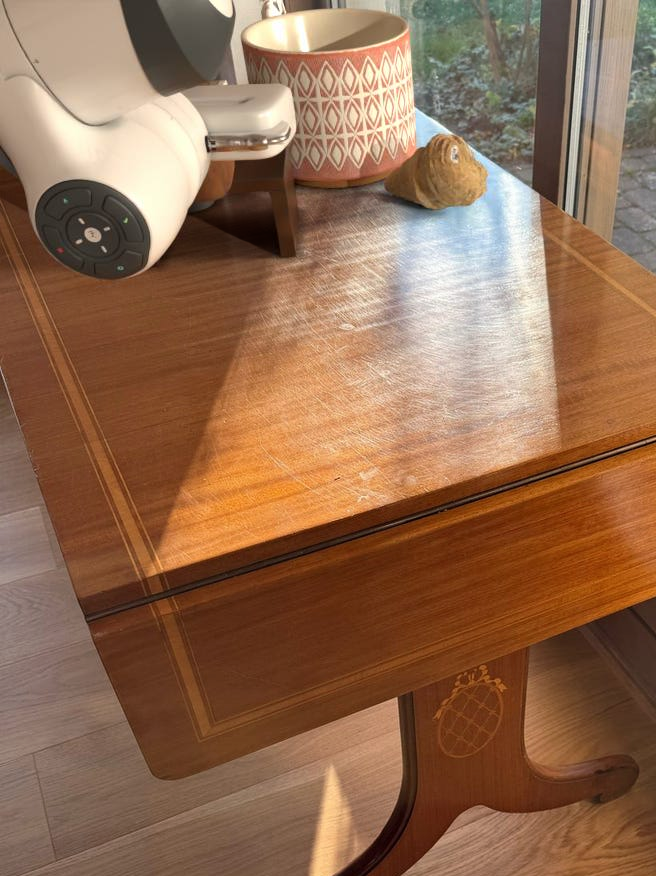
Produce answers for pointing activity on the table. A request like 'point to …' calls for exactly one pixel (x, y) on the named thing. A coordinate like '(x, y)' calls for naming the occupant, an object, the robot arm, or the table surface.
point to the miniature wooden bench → (280, 183)
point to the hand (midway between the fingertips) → (183, 91)
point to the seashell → (440, 175)
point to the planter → (339, 90)
